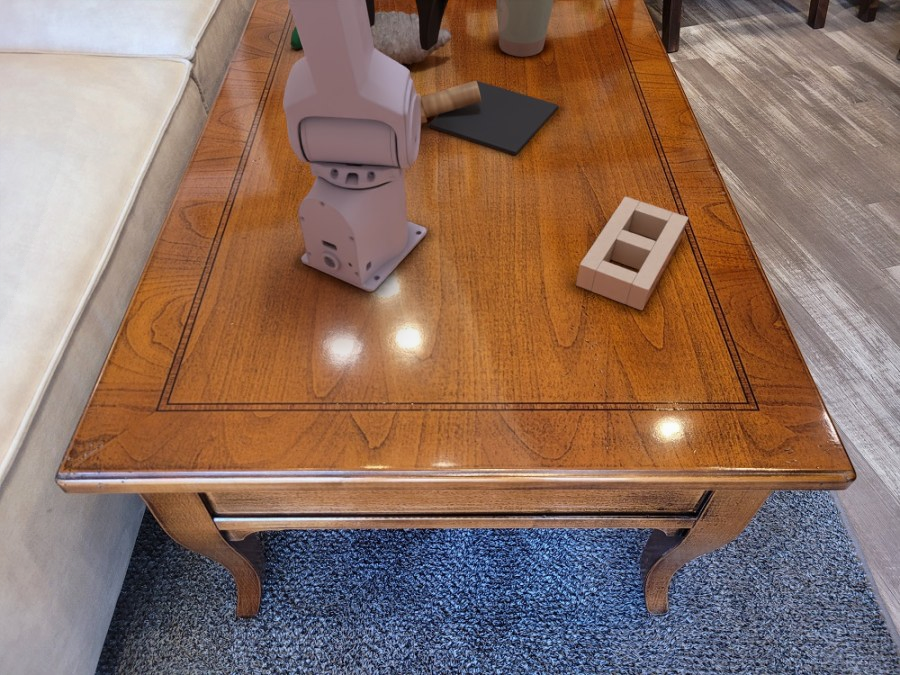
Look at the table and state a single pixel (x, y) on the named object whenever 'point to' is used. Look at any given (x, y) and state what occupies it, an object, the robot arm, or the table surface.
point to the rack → (631, 252)
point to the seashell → (402, 37)
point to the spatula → (449, 100)
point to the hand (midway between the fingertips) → (397, 36)
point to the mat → (497, 119)
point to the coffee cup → (523, 25)
